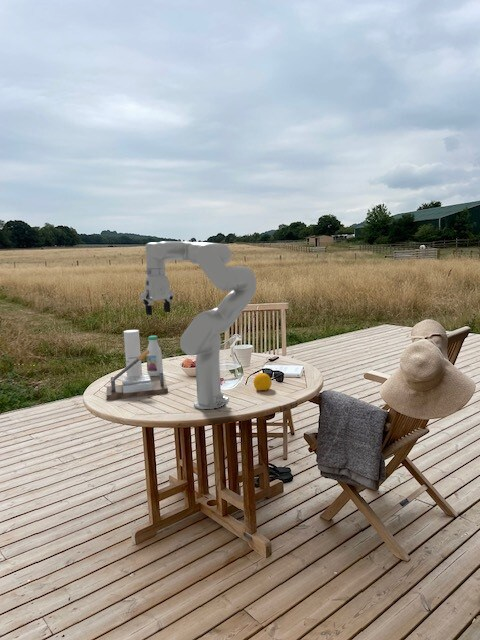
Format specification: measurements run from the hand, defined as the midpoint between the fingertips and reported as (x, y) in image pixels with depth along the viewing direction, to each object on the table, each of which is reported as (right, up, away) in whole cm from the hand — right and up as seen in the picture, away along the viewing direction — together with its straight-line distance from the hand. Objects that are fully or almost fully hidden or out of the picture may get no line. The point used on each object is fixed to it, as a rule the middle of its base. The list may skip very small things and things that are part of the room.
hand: (158, 313), depth 191 cm
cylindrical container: (-16, -33, +28) cm, 46 cm away
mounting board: (-12, -35, +12) cm, 39 cm away
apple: (+44, -34, +8) cm, 56 cm away
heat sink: (-11, -33, +12) cm, 37 cm away
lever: (-14, -23, +10) cm, 29 cm away
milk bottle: (-9, -31, +40) cm, 51 cm away
